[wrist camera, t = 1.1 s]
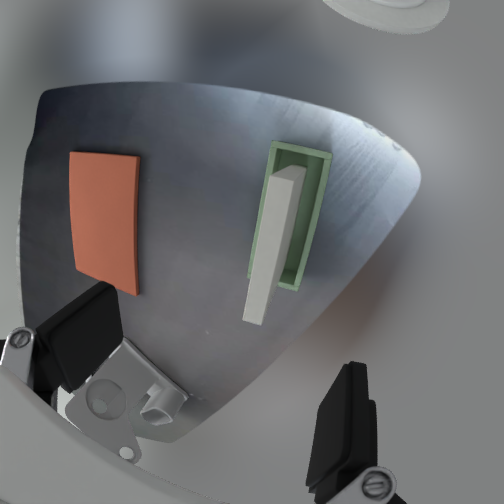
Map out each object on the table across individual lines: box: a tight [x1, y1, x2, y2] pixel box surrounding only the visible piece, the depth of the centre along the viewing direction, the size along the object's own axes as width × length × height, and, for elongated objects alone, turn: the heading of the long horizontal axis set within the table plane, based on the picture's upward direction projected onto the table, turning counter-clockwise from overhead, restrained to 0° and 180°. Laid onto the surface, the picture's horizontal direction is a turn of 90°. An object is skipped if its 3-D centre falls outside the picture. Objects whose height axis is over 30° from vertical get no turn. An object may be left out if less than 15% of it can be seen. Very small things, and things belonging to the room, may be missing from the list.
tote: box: [247, 140, 333, 291], centre depth 26 cm, size 14×5×4 cm, turn 171°
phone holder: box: [65, 337, 189, 464], centre depth 38 cm, size 17×10×18 cm, turn 46°
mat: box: [69, 151, 140, 296], centre depth 35 cm, size 20×14×1 cm
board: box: [243, 163, 308, 325], centre depth 22 cm, size 10×1×12 cm, turn 171°
